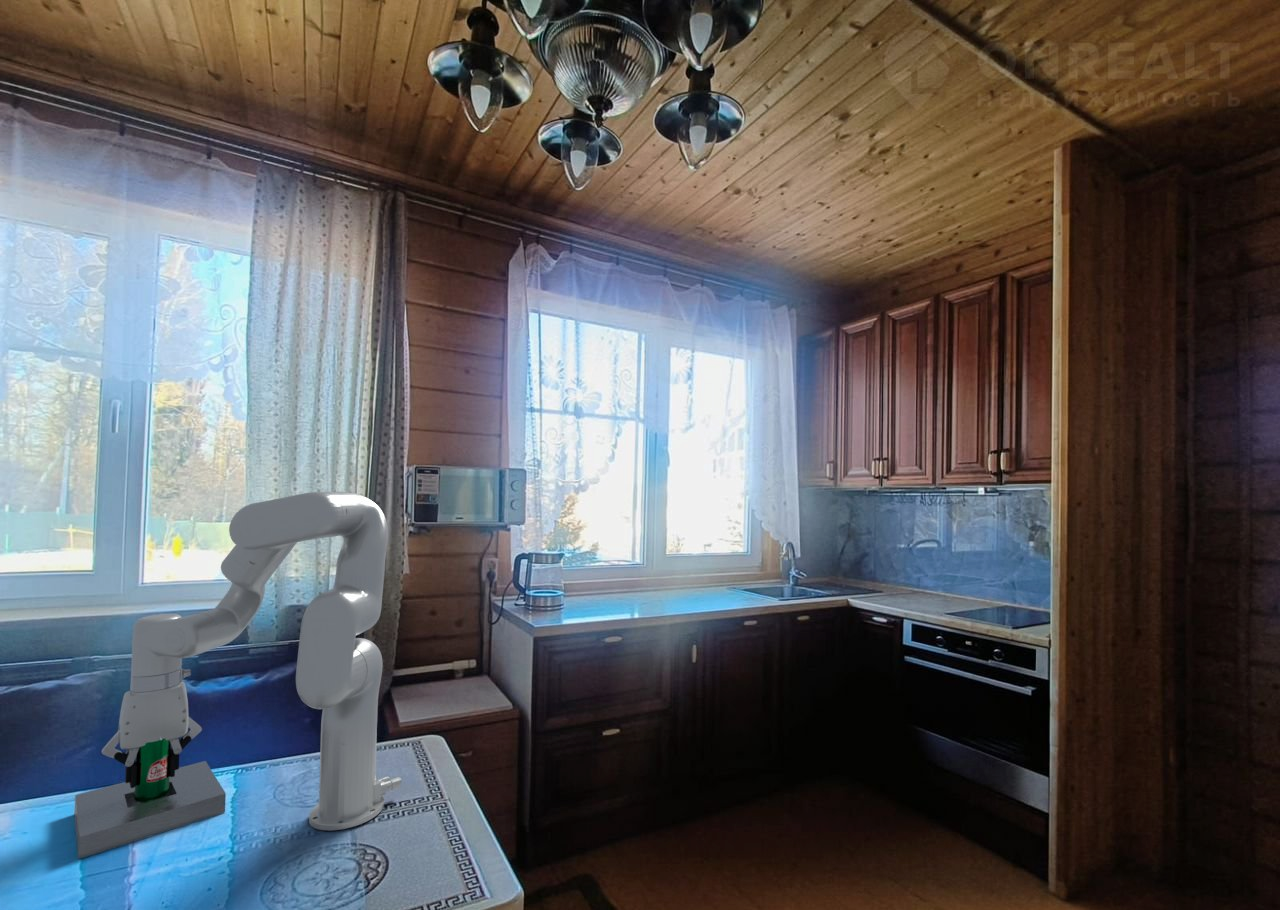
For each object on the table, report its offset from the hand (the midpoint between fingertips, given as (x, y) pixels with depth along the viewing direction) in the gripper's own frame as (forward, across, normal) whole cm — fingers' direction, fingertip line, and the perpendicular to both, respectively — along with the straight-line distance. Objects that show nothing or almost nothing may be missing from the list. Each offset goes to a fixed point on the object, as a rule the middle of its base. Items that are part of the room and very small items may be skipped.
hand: (152, 778), depth 112 cm
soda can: (+4, 0, 0) cm, 4 cm away
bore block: (+6, 0, 0) cm, 6 cm away
